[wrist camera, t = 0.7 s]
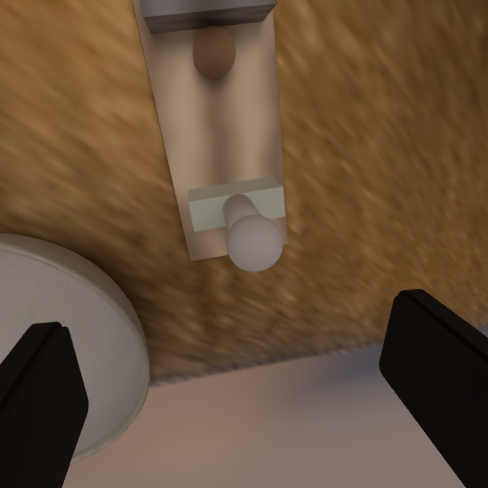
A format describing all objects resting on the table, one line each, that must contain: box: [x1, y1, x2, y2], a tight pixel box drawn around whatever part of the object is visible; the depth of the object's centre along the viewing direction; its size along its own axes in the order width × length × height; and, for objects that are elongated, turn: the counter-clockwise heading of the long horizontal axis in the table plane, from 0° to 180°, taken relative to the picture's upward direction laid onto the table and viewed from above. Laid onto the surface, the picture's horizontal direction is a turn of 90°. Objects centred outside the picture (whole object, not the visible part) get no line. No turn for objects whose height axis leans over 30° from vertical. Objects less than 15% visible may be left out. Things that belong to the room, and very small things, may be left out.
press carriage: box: [188, 177, 285, 272], centre depth 26 cm, size 9×4×15 cm, turn 97°
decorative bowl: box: [0, 232, 150, 464], centre depth 31 cm, size 27×27×12 cm
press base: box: [132, 0, 289, 262], centre depth 29 cm, size 12×26×7 cm, turn 7°
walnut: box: [193, 26, 236, 80], centre depth 26 cm, size 4×4×3 cm
